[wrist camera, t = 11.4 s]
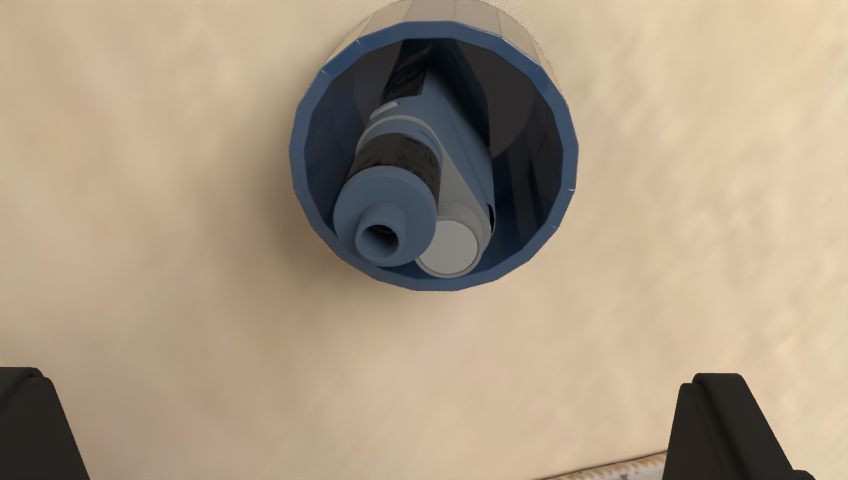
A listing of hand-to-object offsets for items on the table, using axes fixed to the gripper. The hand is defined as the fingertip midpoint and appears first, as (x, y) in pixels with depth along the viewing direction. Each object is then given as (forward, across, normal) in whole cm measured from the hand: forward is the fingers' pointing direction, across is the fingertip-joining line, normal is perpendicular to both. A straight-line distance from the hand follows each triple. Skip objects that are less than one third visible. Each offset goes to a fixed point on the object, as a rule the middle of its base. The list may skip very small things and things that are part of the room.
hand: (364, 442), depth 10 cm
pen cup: (+18, 0, +1) cm, 18 cm away
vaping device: (+17, 0, +1) cm, 17 cm away
